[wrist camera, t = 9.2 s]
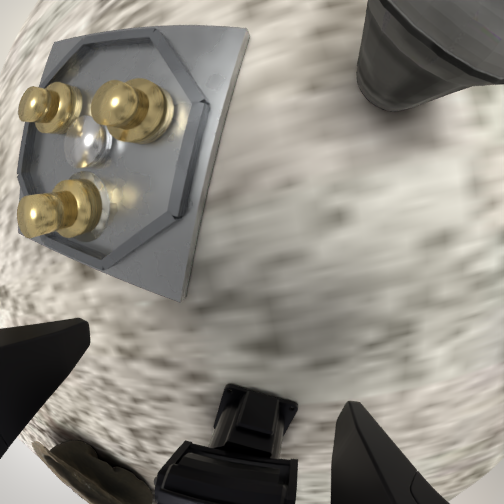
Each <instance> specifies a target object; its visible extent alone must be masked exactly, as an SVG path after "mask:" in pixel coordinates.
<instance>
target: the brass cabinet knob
mask: <svg viewBox="0 0 504 504" xmlns="http://www.w3.org/2000/svg"><path fill="white" fill-rule="evenodd" d="M101 215H102V199H101V195H100V192H99V190H98V188H97V187H96V185H95V184H94V183H93V182H92V181H90V180H88V179H71V180H63V181H61V182H59V183H58V184H57V185H56V186H55V187H54V189H53V191H52V192H50V193H43V194H36V195H29V196H24V197H23V198H22V199H21V200H20V202H19V204H18V209H17V221H18V225H19V228H20V230H21V232H22V234H23V235H24V236H25V237H27V238H33V237H37V236H40V235H43V234H47V233H50V232H54V231H57V232H58V233H59V234H60V235H61V236H63V237H66V238H72V237H75V236H78V235H81V234H85V233H88V232H91V231H92V230H94V229H95V228H96V226H97V225H98V223H99V221H100V219H101Z"/></svg>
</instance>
